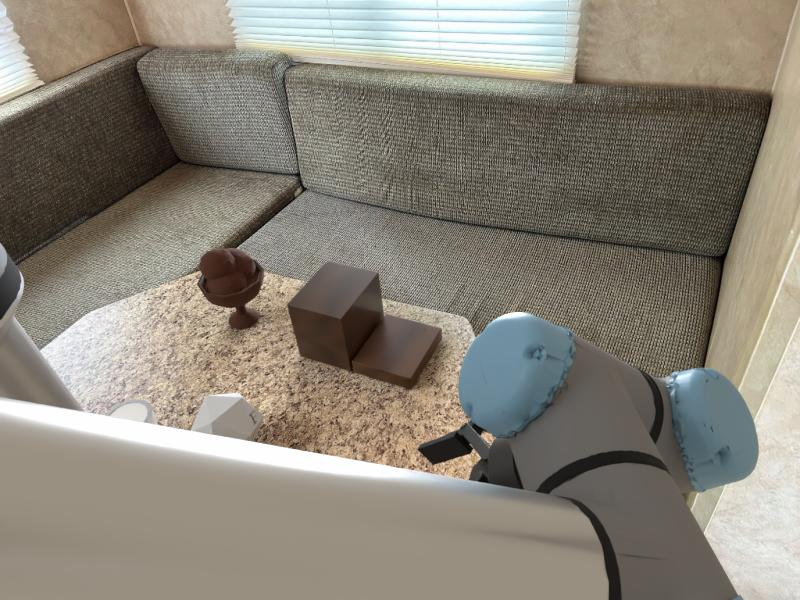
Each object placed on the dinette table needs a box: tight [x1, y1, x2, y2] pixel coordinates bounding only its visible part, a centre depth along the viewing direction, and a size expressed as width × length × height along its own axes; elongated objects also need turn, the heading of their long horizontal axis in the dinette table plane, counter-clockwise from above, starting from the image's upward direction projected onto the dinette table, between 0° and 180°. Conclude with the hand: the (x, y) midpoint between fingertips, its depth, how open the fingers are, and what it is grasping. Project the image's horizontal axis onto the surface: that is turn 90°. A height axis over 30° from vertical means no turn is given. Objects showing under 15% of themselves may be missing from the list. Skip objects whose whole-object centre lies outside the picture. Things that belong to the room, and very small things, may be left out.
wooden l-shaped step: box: [286, 260, 443, 391], centre depth 95 cm, size 20×12×11 cm, turn 64°
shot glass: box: [104, 398, 159, 425], centre depth 84 cm, size 7×7×7 cm
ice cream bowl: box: [196, 247, 265, 331], centre depth 102 cm, size 11×11×15 cm
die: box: [189, 392, 265, 442], centre depth 83 cm, size 8×9×10 cm
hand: (400, 504), depth 65 cm, fingers open, 13 cm apart
